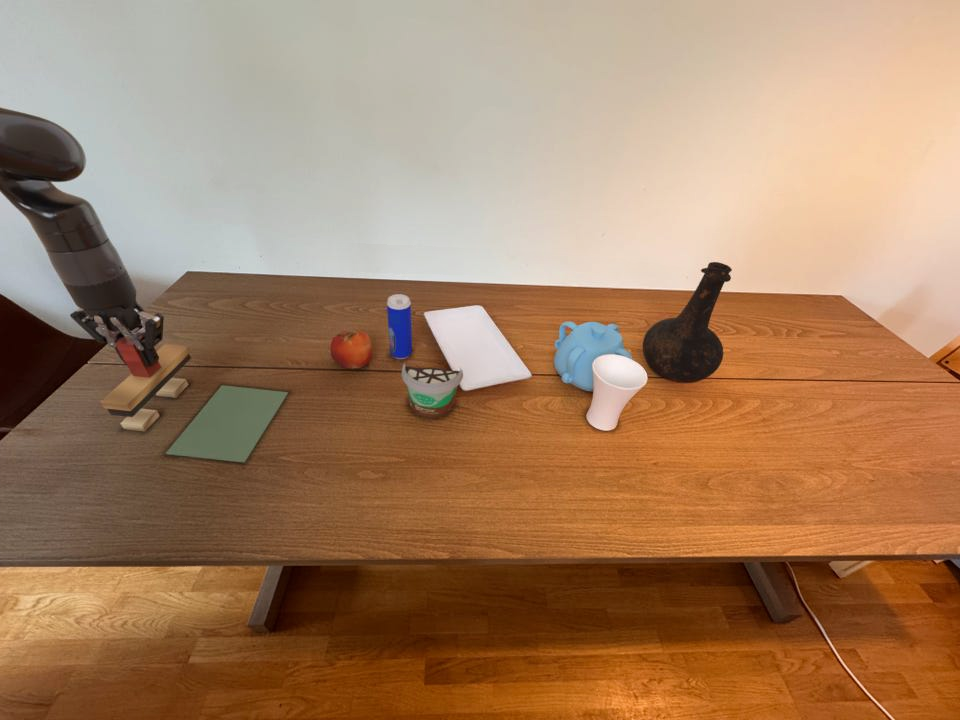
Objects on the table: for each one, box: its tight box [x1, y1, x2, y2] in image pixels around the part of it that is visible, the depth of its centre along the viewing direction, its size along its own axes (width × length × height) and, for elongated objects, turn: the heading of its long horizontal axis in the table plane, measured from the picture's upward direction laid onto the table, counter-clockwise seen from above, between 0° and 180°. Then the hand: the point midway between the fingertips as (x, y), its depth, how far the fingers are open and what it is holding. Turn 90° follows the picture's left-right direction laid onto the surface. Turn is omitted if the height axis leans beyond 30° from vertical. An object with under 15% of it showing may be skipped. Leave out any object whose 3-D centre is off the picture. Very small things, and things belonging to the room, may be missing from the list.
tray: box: [423, 305, 533, 392], centre depth 102 cm, size 17×32×4 cm, turn 22°
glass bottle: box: [642, 261, 733, 384], centre depth 96 cm, size 18×18×28 cm
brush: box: [100, 335, 192, 418], centre depth 73 cm, size 16×4×10 cm, turn 176°
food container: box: [401, 362, 463, 419], centre depth 84 cm, size 12×6×10 cm, turn 88°
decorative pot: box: [553, 321, 634, 392], centre depth 96 cm, size 16×16×14 cm
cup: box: [586, 354, 649, 432], centre depth 85 cm, size 10×10×14 cm
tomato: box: [330, 330, 373, 370], centre depth 94 cm, size 9×9×8 cm
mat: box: [165, 384, 289, 464], centre depth 81 cm, size 18×14×1 cm
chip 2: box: [155, 377, 189, 399], centre depth 85 cm, size 4×4×2 cm
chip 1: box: [120, 408, 160, 432], centre depth 78 cm, size 4×4×2 cm
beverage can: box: [386, 293, 413, 360], centre depth 96 cm, size 5×5×15 cm
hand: (142, 362), depth 73 cm, fingers closed on brush, 3 cm apart
